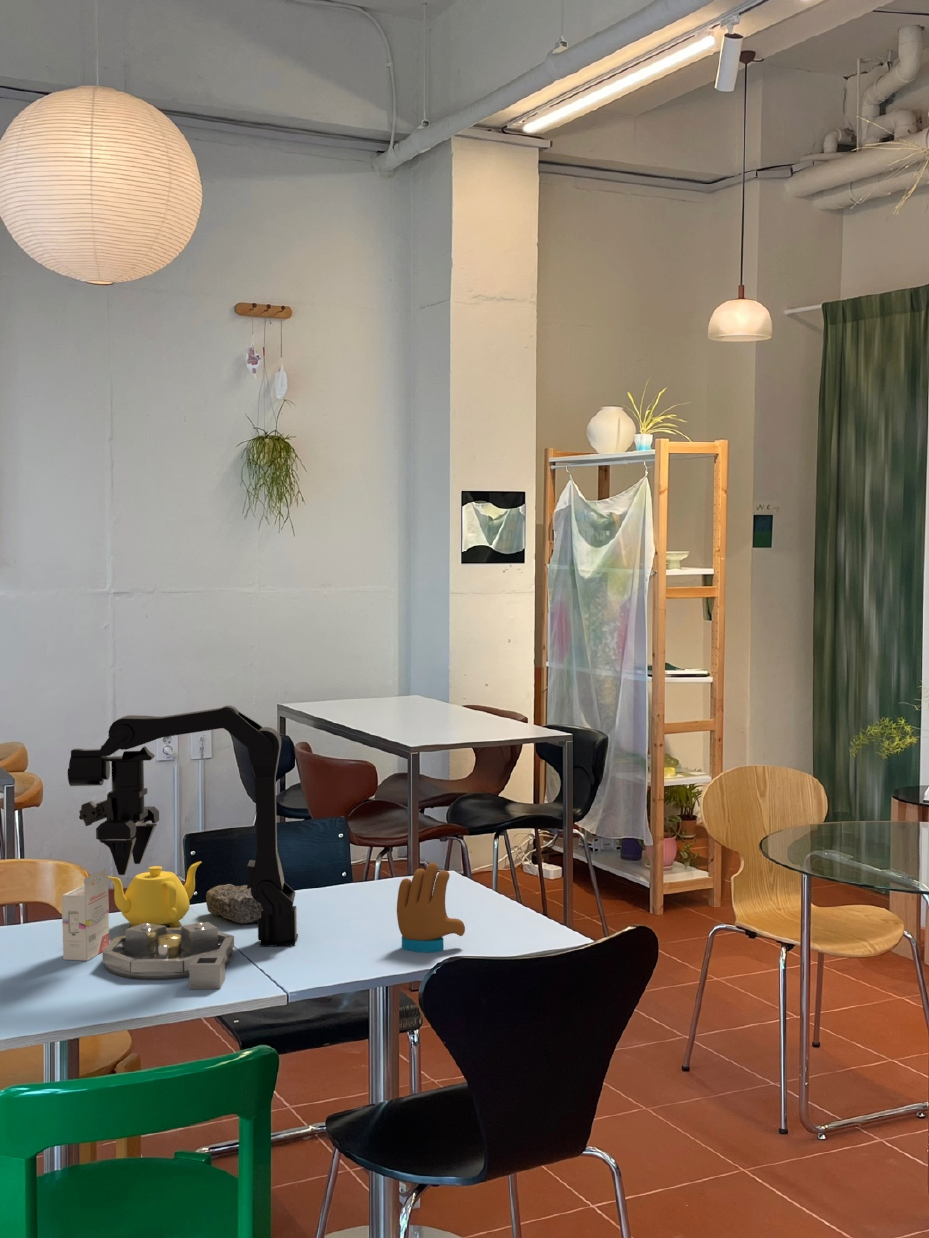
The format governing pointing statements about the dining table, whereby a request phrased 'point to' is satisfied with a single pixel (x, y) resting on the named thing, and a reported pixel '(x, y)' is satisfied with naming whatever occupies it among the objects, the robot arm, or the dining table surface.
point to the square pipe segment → (207, 972)
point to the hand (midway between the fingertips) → (129, 869)
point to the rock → (233, 903)
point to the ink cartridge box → (86, 919)
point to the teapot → (155, 897)
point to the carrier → (164, 950)
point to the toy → (425, 911)
